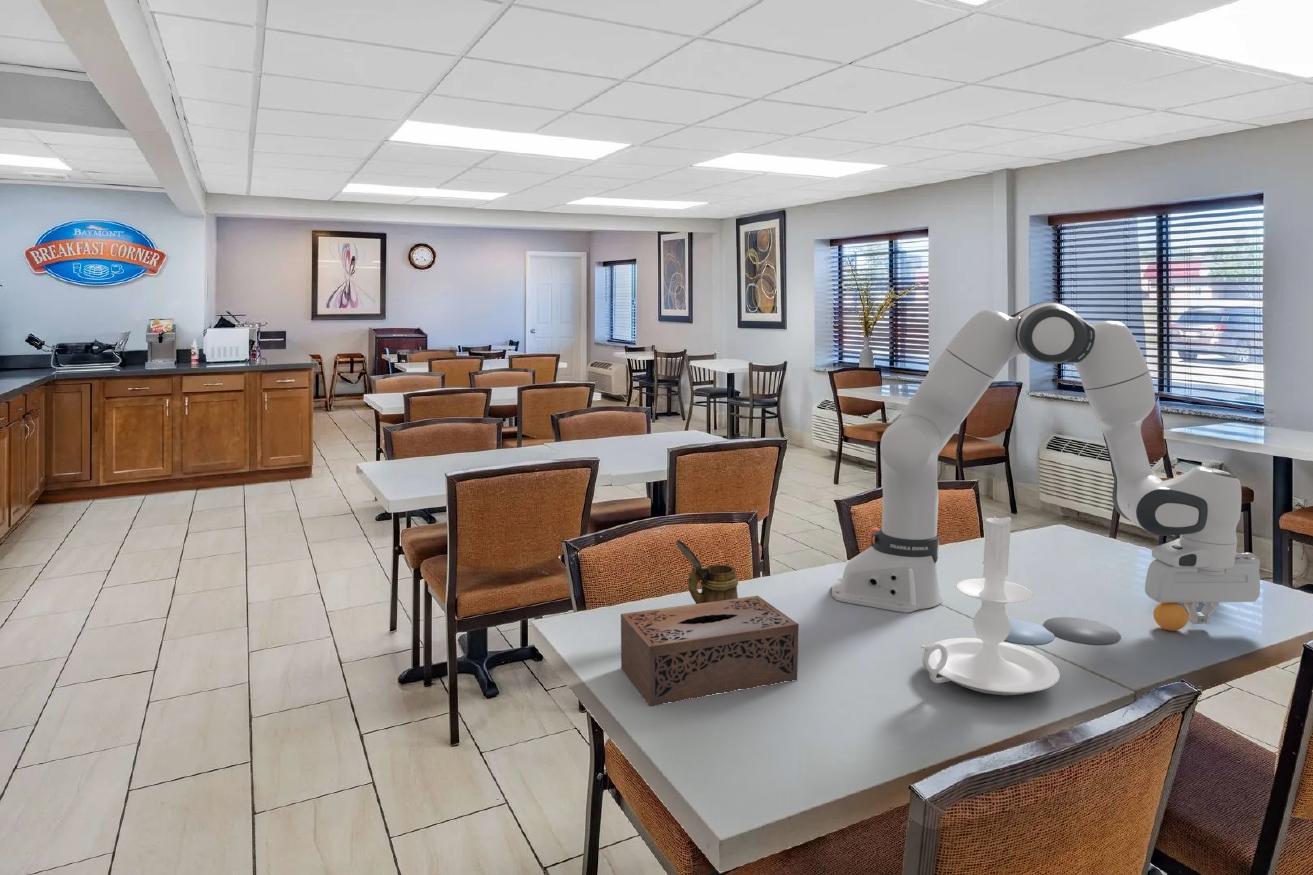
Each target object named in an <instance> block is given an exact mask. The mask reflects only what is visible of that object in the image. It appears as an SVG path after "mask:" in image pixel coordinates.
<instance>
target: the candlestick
mask: <svg viewBox="0 0 1313 875" xmlns="http://www.w3.org/2000/svg"><path fill="white" fill-rule="evenodd" d="M992 516H993V517H987V518H986V519H985V521H984V522H985V525H984V545H983V546H984V548H983V549H984V550H983V551H984V552H983V561H982V565H983V573H982V578H968V579H964V580H960V581H958V583H956V584H955V585H956V589H957V590H958V591H959V592H960V593H962V594H964V595H966V596H969V597H971V598H975V599H977V600H980V601H981V605H980V608H978V610H977V611H976V613H975V614H974V617H973V621H972V626H973V629H974V632H975V634H976V635H977V637H978V638H977V637H976V638H975V637H957V638H949V639H948V638H945V639H942V640H939V641H936V642H933V643H931V644H930V645H927V644H922V645H920V647H921V649H924V651H923V653H922V660H921V662H922V666H923V668H924V669H925V670H926V672H928V674H929V680H930V681H932V682H933V683H935V684H942V683H945V682H952V683H954V684H957V685H958V686H961V687H963V688H965V689H966V688H967V689H970V690H972V691H974V692H980V693H983V694H990V695H995V696H998V695H999V696H1000V695H1001V696H1017V695H1025V694H1029V693H1035V692H1039V691H1045V690H1047V689H1049V688H1051V687H1053V686H1055V685H1056V684H1057V683H1058V681H1060V676H1061V674H1060V671H1059V668H1058V667H1057V666H1056V664H1054V662H1052V661H1051V660H1049V659H1048V658H1046V657H1045V656H1043V655H1042V654H1040V653H1037V652H1036V651H1034V650H1030V649H1028V648H1025V647H1023V646H1019V645H1017V644H1014V643H1011V642H1010V643H1009V642H1005V639H1006V638H1007V636H1008V635H1009V633H1010V631H1011V622H1010V619H1011V618H1010V617H1009V615H1008V613H1007V612H1006V609H1005V607H1006V606H1005V605H1006V604H1008V603H1009V604H1010V603H1013V604H1014V603H1022V602H1027V601H1029V600H1031V599H1032V598H1033V597H1034V593H1033V592H1032V590H1030V589H1029V588H1027V587H1025V586H1023V585H1020V584H1018V583H1015V582H1011V581H1006V580H1005V578H1006V577H1007V576H1009V557H1010V540H1011V527H1012V526H1011V525H1012V518H1011V517H1010V516H1007V517H1000V518H999V517H996V515H995V514H993V515H992ZM937 675H941V677H937Z"/></svg>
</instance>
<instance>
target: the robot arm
mask: <svg viewBox="0 0 1313 875" xmlns="http://www.w3.org/2000/svg"><path fill="white" fill-rule="evenodd" d="M1022 354H1024V355H1026V356H1027V357H1029V358H1030V359H1032V361H1036V362H1038V363H1041V364H1046V365H1047V364H1049V365H1057V364H1058V365H1059V364H1072V365H1073V366H1074V367H1075V369H1076V370H1077V373H1078V375H1079V377H1080V381H1081V384H1082V388H1083V390H1084V394H1085V396H1086V398H1087V402H1088V403H1089V406H1090V409H1091V411H1092V412H1093V414H1094V416H1095V418H1096V421H1097V423H1098V424H1099V427H1100V428H1101V431H1102V434H1103V437H1104V441H1105V445H1106V448H1107V451H1108V455H1109V458H1110V462H1111V465H1112V469H1113V470H1112V471H1113V474H1114V478H1113V481H1114V483H1113V487H1112V504H1113V506H1114V508H1115V510H1116V512H1117V513H1118V514H1119V515H1120V517H1122V518H1124V519H1126V520H1128V521H1130V522H1131V523H1134V524H1135V525H1136V526H1137V527H1139V528H1141V529H1142V530H1144V531H1146V532H1148V533H1149V534H1153V535H1155V536H1163V537H1164V536H1165V537H1170V536H1175V535H1180V538H1179V539H1176V540H1175V539H1174V540H1171V541H1169V542H1168V541H1167V543H1162V544H1159V545H1157V546H1154V547H1153V548H1152V549H1151V557H1152V558H1154V560H1152V561H1151V562H1150V564H1149V565H1148V568H1147V572H1146V577H1145V578H1146V579H1145V583H1144V584H1145V585H1144V592H1145V594H1146V595H1147V597H1148V598H1149V599H1151V600H1153V601H1155V602H1157V603H1158V604H1160V603H1172V602H1176V603H1183V605H1184V608H1185V610H1186V612H1187V613H1188V621H1187V622H1189V623H1190V624H1192V625H1209V624H1210V619H1211V616H1212V615H1213V614H1214V612H1215V611H1216V610H1217V609H1218V606H1219V603H1255V602H1256V601H1257V600H1258V599H1259V598H1260V593H1261V578H1260V577H1261V576H1260V566H1261V565H1260V564H1261V561H1260V558H1259V557H1258V556H1257V555H1255V554H1253V553H1252V552H1242V553H1241V552H1237V546H1238V536H1237V526H1238V524H1239V523H1240V519H1241V513H1242V512H1241V511H1242V497H1243V496H1242V494H1243V493H1242V485H1241V481H1240V479H1239V478H1238V477H1237V476H1235V474H1232V473H1230V472H1227V471H1224V470H1220V469H1218V468H1214V467H1210V466H1201V465H1199V466H1194V467H1192V468H1191V469H1190V470H1188V471H1187V472H1184V473H1182V474H1181V475H1178V476H1175V477H1173V478H1170V479H1165V480H1162V479H1161V477H1159V476H1158V475H1157V474H1156V473H1155V472H1154V471H1153V469H1152V467H1151V465H1150V461H1149V457H1148V454H1147V450H1146V446H1145V444H1144V439H1143V436H1142V425H1143V421H1145V419H1146V418H1147V417H1149V415H1150V414H1151V413H1152V412H1153V409H1154V408H1155V406H1156V397H1155V388H1154V383H1153V380H1152V376H1151V372H1150V369H1149V367H1148V364H1147V361H1146V359H1145V356H1144V353H1143V352H1142V350H1141V347H1140V345H1139V344H1138V342H1137V340H1136V338H1135V337H1134V335H1133V333H1132V331H1131V330H1130V328H1129V327H1128V326H1127V325H1125V323H1122V322H1120V321H1117V320H1116V321H1114V320H1105V321H1104V320H1102V321H1099V322H1095V323H1093V324H1092V323H1091V324H1089V322H1087V321H1085V320H1084V319H1083V318H1082V317H1081V316H1080V315H1078V313H1076V312H1075V311H1074V310H1073V309H1072V308H1070V307H1068V306H1067V305H1065V304H1063V303H1060V302H1056V301H1043V302H1038V303H1035V304H1032V305H1030V306H1028V307H1025V308H1024V309H1022V310H1020V311H1018V312H1015V313H1014V314H1011V315H1008V314H1006V313H1003V312H1001V311H998V310H995V309H983V310H980V311H978V312H976V313H975V314H974V316H972V317H971V318H970V319H969V320H968V321H967V322H966V323H965V324H964V325H963V326H962V327H961V328H960V330H959V331H958V332H957V333H956V335H954V337H953V338H952V339H950V342H949V343H948V344H947V345H946V347H945V348H944V350H943V351H942V353H941V354H940V355H939V357H938V358H937V359H936V361H935V363H934V364H933V365H932V367H931V368H930V370H929V371H928V373H927V374H926V376H925V377H924V378H923V379H922V381H921V382H920V385H919V387H918V388H917V389H916V391H915V393H914V394H913V396H912V397H911V399H910V401H909V402H908V404H907V405H906V406H905V407H904V409H903V411H902V412H901V414H900V415H899V417H897V419H896V420H895V421H894V422H893V423H890V425H889V426H887V427H886V429H885V430H884V431H883V434H882V436H881V439H880V471H881V472H880V474H881V484H882V486H881V487H882V510H881V511H882V513H881V514H882V515H881V518H882V519H881V529H879V528H878V527H877V526H876V527H872V528H871V529H870V534H869V535H870V537H871V540H870V547H868V548H867V549H865V550H864V551H862V552H860V553H859V554H857V555H856V556H854V557H853V558H851V559H850V560H849V561H848V562H847V563H846V565H845V568H844V571H843V573H842V574H843V575H842V577H841V578H839V579H837V580H835V581H834V582H833V584H832V587H831V595H832V597H833V598H834V599H835V601H837V602H842V603H847V604H852V605H853V604H854V605H855V604H856V605H861V606H865V607H872V608H878V609H884V610H887V611H896V612H900V613H912V612H915V611H917V610H923V609H929V608H933V607H936V606H938V605H940V604H941V603H942V596H941V592H940V587H939V581H938V580H939V579H938V572H937V570H938V569H937V562H938V559H939V555H940V540H939V534H938V533H937V532H938V517H939V516H938V513H939V488H938V484H939V483H938V458H939V454H940V453H941V452H942V450H943V449H944V447H945V446H946V445H947V443H948V442H949V441H950V439H951V438H952V437H953V435H954V434H955V433H956V431H957V430H958V429H959V427H960V426H961V425H962V423H963V422H964V420H965V419H966V418H967V417H968V415H969V414H970V413H971V411H972V410H973V408H975V406H976V404H978V402H979V400H980V399H981V398H982V396H983V395H984V394H985V392H987V390H988V388H989V387H990V386H991V384H992V383H993V382H994V380H995V379H996V378H997V376H998V375H999V373H1000V372H1001V370H1002V369H1003V368H1004V366H1005V365H1007V363H1008V362H1010V360H1011V359H1013V358H1014V357H1016V356H1018V355H1022ZM1200 603H1202V604H1204V605H1203V607H1202V608H1201V610H1200V611H1197V608H1199V605H1200Z"/></svg>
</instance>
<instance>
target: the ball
mask: <svg viewBox="0 0 1313 875" xmlns="http://www.w3.org/2000/svg"><path fill="white" fill-rule="evenodd" d="M1188 617H1189V614H1188V611H1187V609H1186V608H1185V606H1182V605H1181V604H1180V603H1179V602H1172V603H1158V604H1157V605H1156V606H1155V607H1154V610H1153V618H1154V621H1155V623H1156V624H1157V625H1158V626H1159V627H1160V628H1161V629H1164V630H1166V631H1171V632H1173V631H1179V630H1181V629H1183V628H1184V627H1185V626H1186V625H1187V623H1188V622H1189V621H1188Z"/></svg>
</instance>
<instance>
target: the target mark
mask: <svg viewBox="0 0 1313 875" xmlns="http://www.w3.org/2000/svg"><path fill="white" fill-rule="evenodd" d="M1042 626H1043V627H1045V628H1047V629H1048V630H1050V631H1051V632H1052V633H1053V634H1054V637H1057V638H1060V639H1062V640H1065V641H1068V642H1073V643H1077V642H1079V643H1078V644H1083V643H1084V645H1093V646H1095V645H1097V646H1104V645H1105V646H1106V645H1112V644H1116V643H1118V642H1120V641H1121V638H1122V637H1121V636H1122V635H1121V634H1120V632H1119V631H1118V630H1116V629H1115V628H1113V627H1112V626H1110V625H1108V624H1105V623H1101V622H1098V621H1094V620H1090V619H1085V618H1081V617H1080V618H1079V617H1069V616H1067V617H1066V616H1062V617H1061V616H1060V617H1051V618H1049V619H1047V620H1044V622H1043V624H1042Z"/></svg>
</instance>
